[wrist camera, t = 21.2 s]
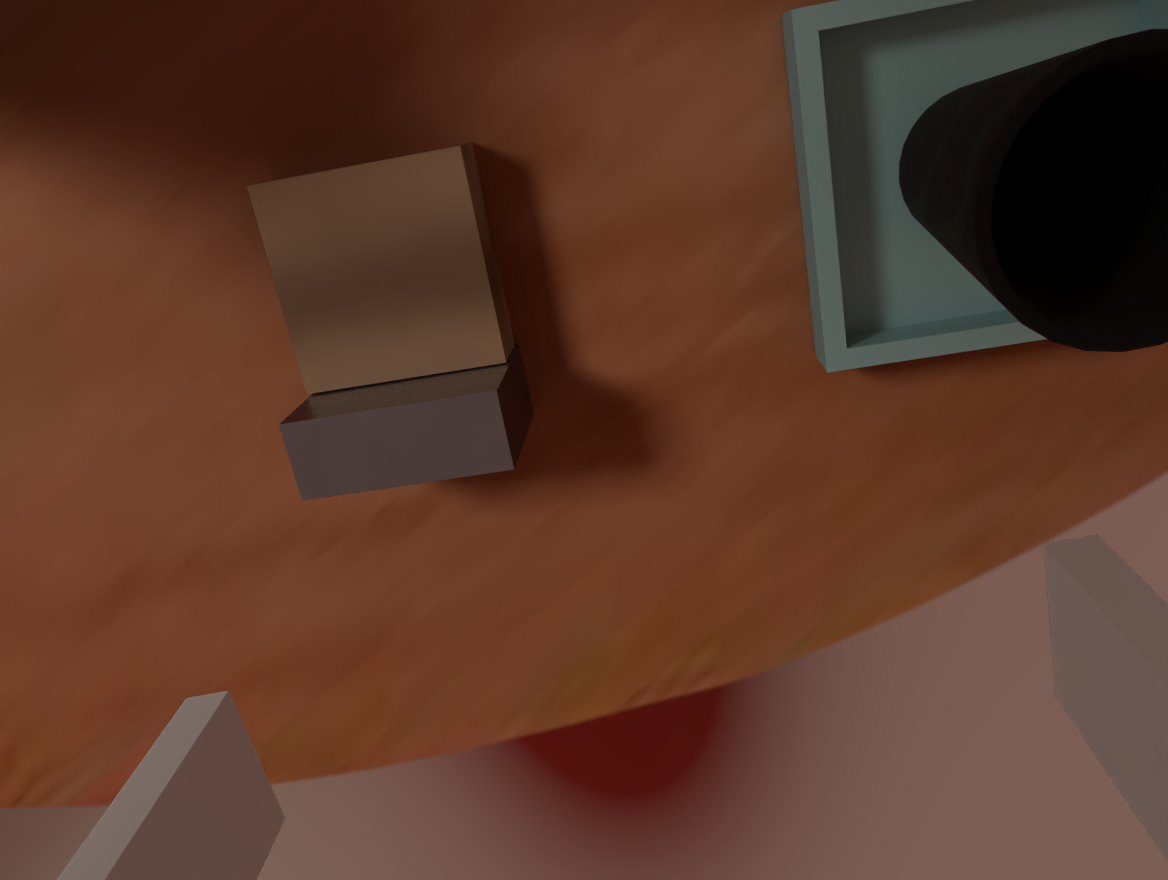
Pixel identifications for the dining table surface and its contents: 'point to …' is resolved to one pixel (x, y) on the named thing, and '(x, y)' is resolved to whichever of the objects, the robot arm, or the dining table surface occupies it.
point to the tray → (873, 149)
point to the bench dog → (409, 430)
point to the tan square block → (386, 269)
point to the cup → (1057, 190)
